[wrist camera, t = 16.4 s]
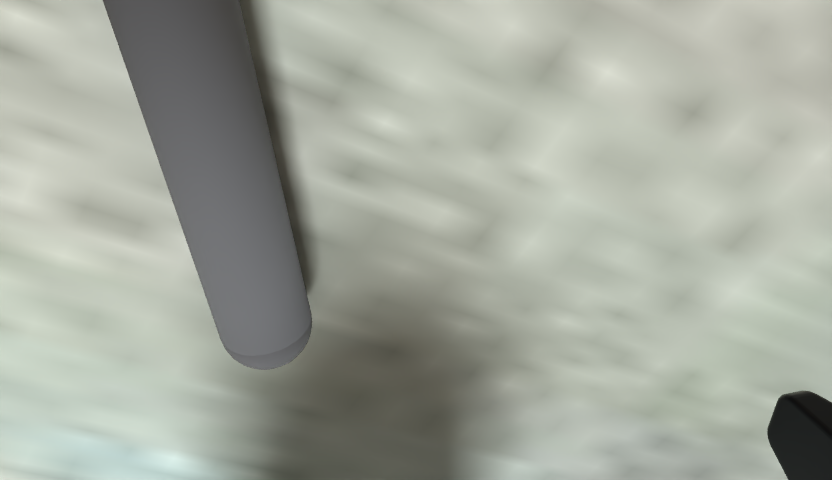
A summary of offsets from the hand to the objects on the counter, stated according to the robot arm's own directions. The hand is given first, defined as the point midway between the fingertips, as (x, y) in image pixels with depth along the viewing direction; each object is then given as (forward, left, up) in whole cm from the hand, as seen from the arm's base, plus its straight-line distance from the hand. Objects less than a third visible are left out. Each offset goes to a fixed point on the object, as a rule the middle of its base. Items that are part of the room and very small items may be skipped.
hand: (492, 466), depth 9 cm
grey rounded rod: (+2, +5, -12) cm, 13 cm away
